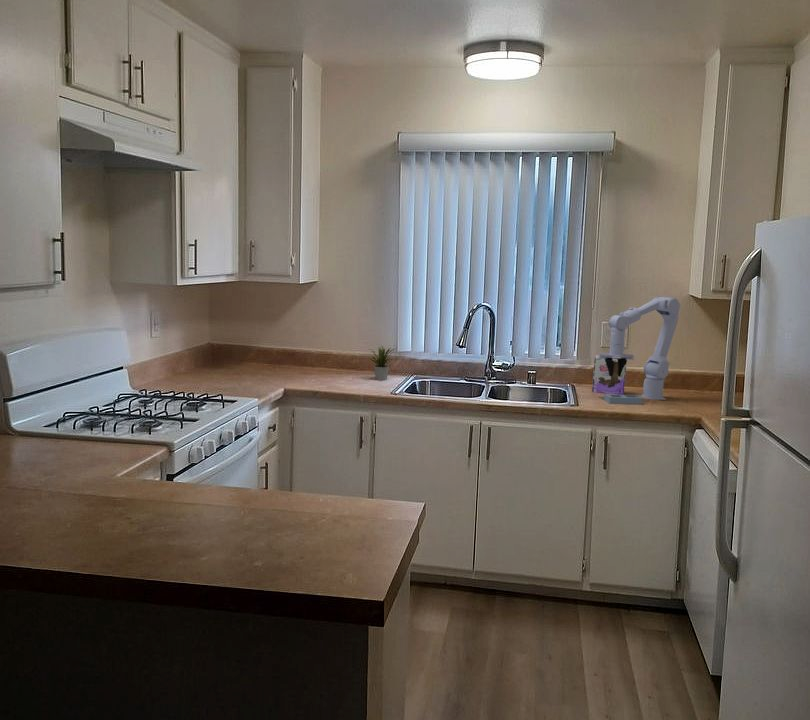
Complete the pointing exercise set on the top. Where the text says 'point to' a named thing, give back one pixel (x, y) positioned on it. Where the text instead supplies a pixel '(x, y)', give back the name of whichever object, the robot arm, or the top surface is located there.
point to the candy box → (607, 378)
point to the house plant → (381, 364)
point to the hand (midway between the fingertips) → (614, 376)
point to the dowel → (615, 373)
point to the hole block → (623, 399)
